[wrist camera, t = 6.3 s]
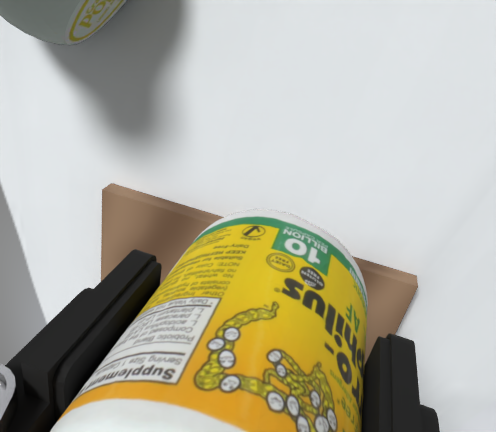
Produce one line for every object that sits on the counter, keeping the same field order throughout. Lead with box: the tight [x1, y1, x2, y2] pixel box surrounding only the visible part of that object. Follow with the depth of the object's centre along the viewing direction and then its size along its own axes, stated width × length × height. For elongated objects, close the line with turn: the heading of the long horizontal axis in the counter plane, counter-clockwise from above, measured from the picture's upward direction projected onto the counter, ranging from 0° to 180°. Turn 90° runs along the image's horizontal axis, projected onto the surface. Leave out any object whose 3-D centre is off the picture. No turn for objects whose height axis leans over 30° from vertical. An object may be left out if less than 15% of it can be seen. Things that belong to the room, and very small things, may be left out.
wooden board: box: [101, 183, 418, 366], centre depth 32 cm, size 22×14×3 cm, turn 79°
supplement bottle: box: [50, 209, 368, 432], centre depth 9 cm, size 5×5×10 cm
